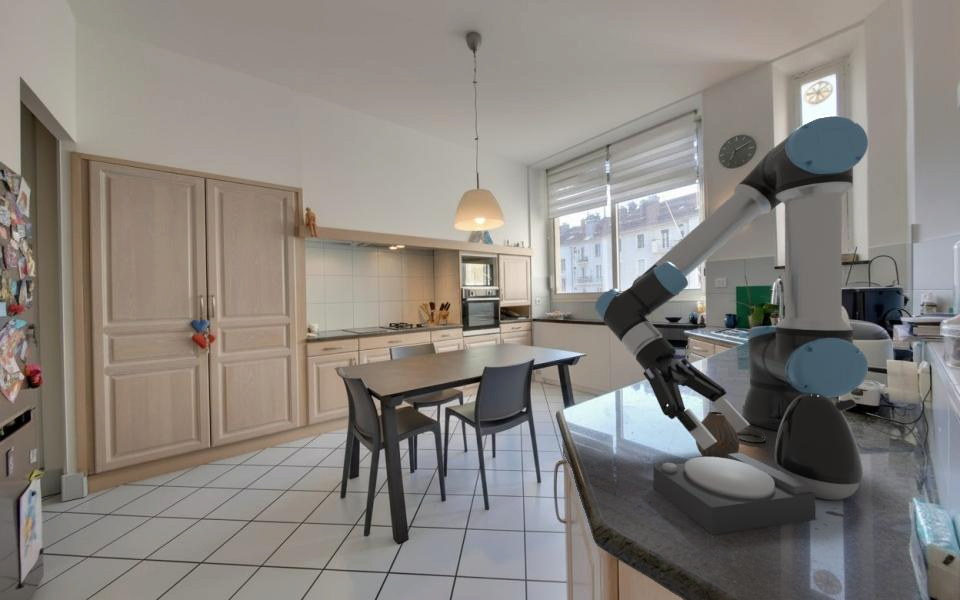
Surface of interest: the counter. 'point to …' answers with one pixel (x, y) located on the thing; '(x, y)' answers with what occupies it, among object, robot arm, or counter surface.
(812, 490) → the pump dispenser
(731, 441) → the vase
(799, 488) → the turntable with oval dome
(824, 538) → the counter surface
